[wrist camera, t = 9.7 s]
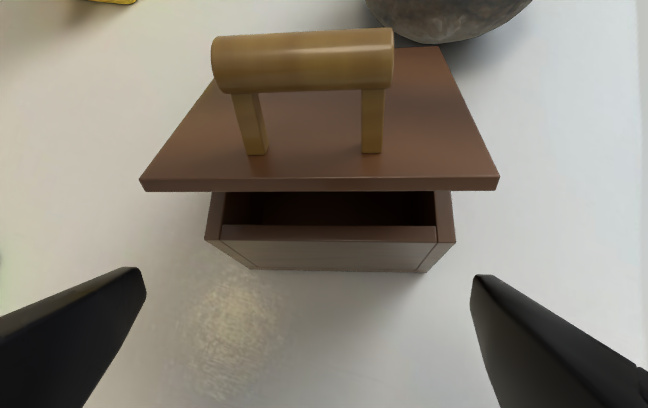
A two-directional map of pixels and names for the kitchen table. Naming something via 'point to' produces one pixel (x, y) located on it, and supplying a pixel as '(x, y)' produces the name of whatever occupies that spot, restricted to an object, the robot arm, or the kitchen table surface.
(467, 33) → the bowl
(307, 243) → the chest
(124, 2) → the teapot
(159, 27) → the kitchen table surface
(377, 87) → the lid
